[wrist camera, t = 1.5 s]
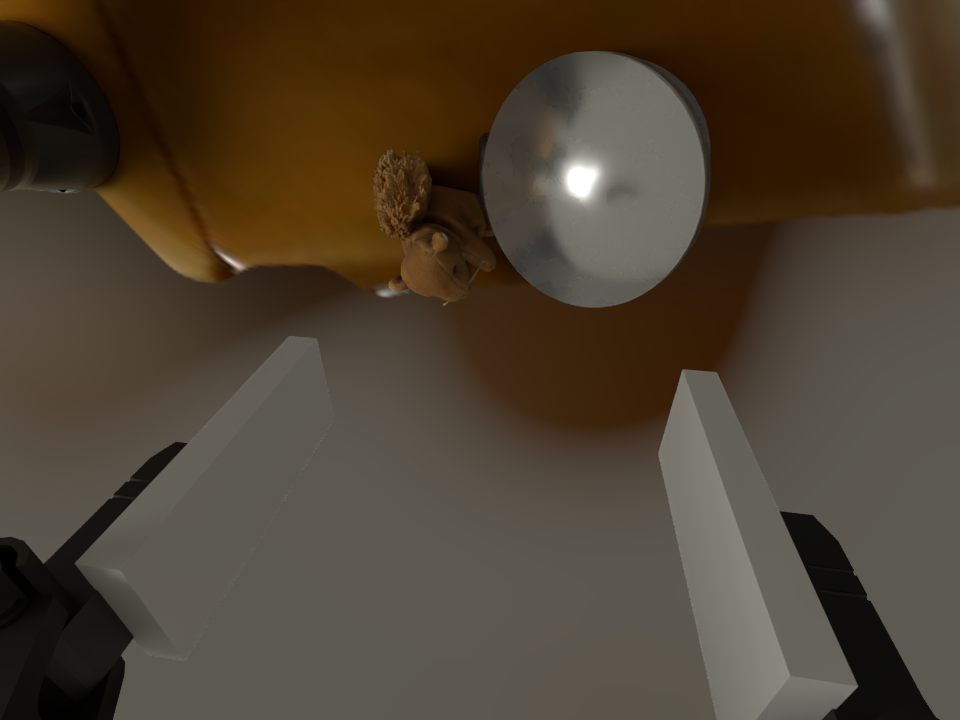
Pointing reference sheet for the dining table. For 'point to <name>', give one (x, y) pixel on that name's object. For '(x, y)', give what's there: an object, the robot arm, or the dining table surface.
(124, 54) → the dining table surface
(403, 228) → the stuffed squirrel
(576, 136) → the lid
